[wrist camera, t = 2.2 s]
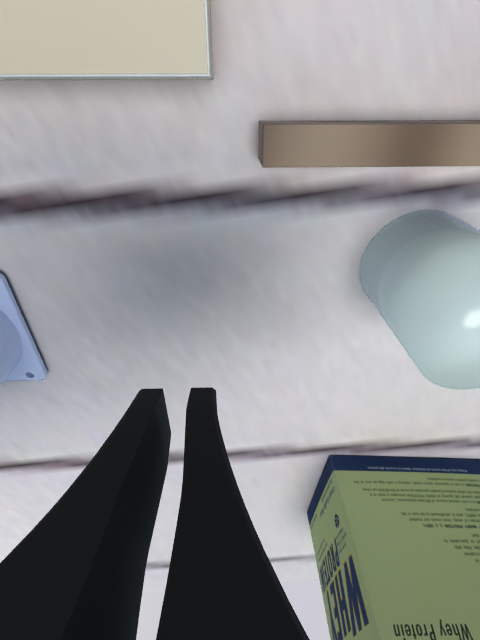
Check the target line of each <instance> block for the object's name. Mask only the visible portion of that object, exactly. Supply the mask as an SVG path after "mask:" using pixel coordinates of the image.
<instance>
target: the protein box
mask: <svg viewBox="0 0 480 640" xmlns="http://www.w3.org/2000/svg"><path fill="white" fill-rule="evenodd" d="M307 514H308V519H309V525H310V530H311V535H312V541H313V546H314V551H315V556H316V562H317V568H318V573H319V579H320V584H321V589H322V594H323V599H324V605H325V611H326V616H327V622H328V627H329V633H330V637H331V640H480V460H472V459H438V458H407V457H378V456H345V455H330V456H329V459H328V461H327V464H326V466H325V469H324V471H323V474H322V476H321V478H320V481H319V484H318V486H317V489H316V491H315V494H314V496H313V499H312V502H311V504H310V507H309V509H308V512H307Z"/></svg>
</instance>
